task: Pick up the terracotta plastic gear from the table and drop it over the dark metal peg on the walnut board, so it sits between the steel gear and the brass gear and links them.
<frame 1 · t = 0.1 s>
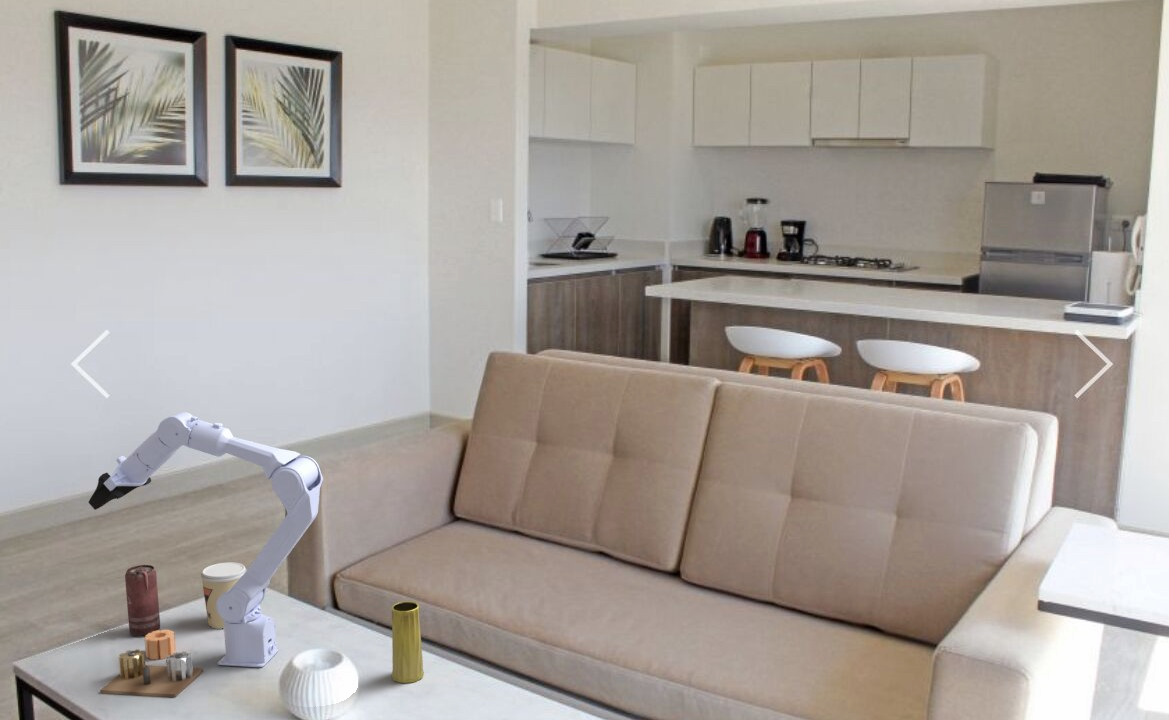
hand: (103, 500, 215), 32 cm above the table, tool tilted 50°, fingers open, 7 cm apart
can: (145, 632, 230), on the table
idler gear: (160, 653, 219), on the table
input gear: (180, 679, 208), resting on gear board
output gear: (133, 676, 209), resting on gear board
coffee cup: (227, 622, 235), on the table
gear board: (153, 681, 207), on the table
vase: (407, 677, 208), on the table
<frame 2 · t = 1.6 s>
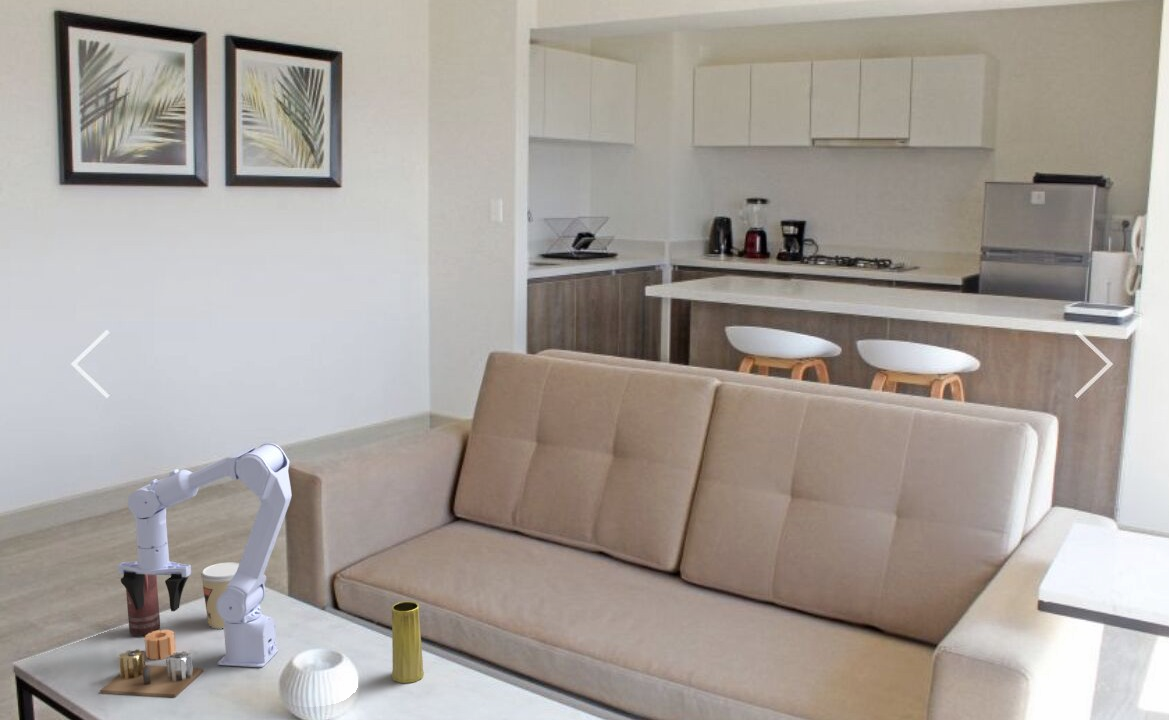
hand: (157, 608, 217), 10 cm above the table, tool pointing down, fingers open, 7 cm apart
nothing on the table moved.
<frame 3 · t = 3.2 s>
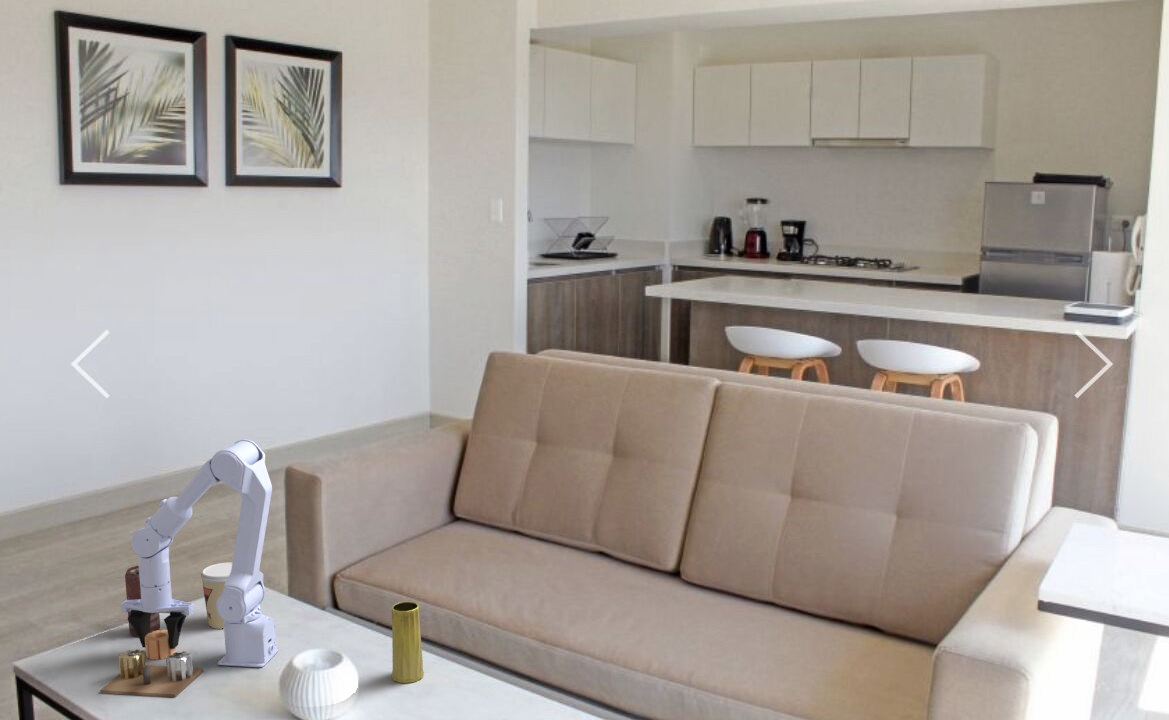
hand: (160, 646, 219), 2 cm above the table, tool pointing down, fingers closed on idler gear, 5 cm apart
idler gear: (160, 653, 219), on the table, touching gripper
everything else where it was.
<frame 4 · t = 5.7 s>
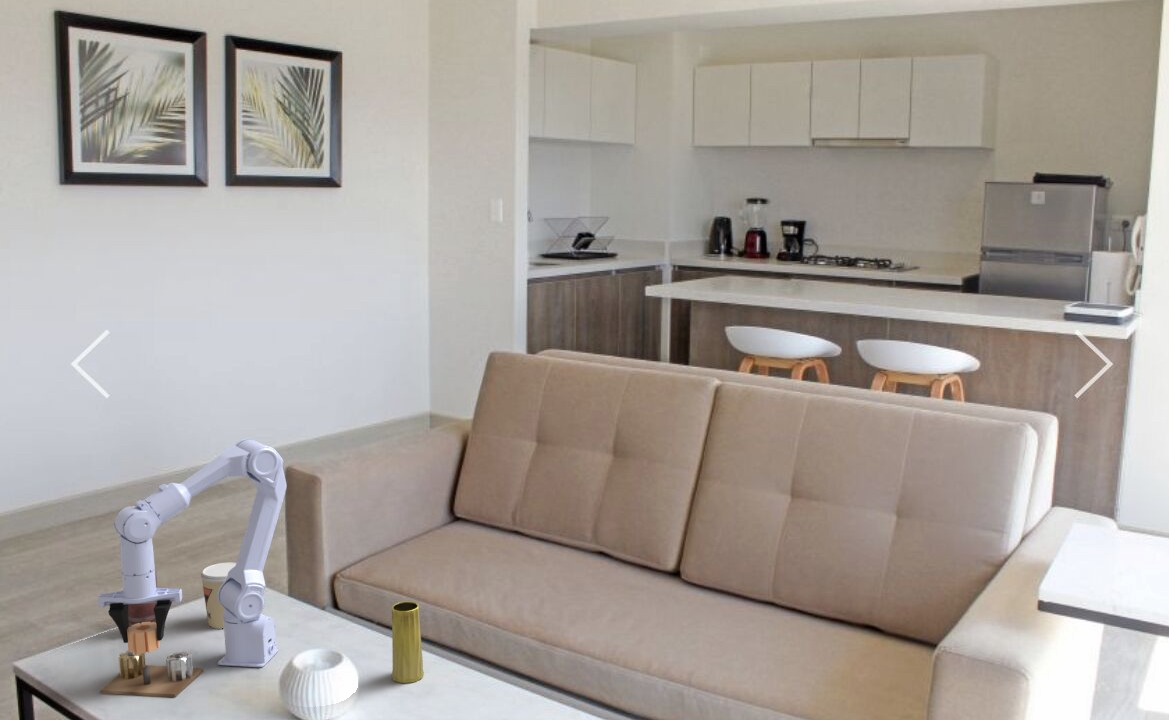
hand: (143, 639, 203), 9 cm above the table, tool pointing down, fingers closed on idler gear, 5 cm apart
idler gear: (144, 647, 204), point 8 cm above the table, touching gripper
everything else where it was.
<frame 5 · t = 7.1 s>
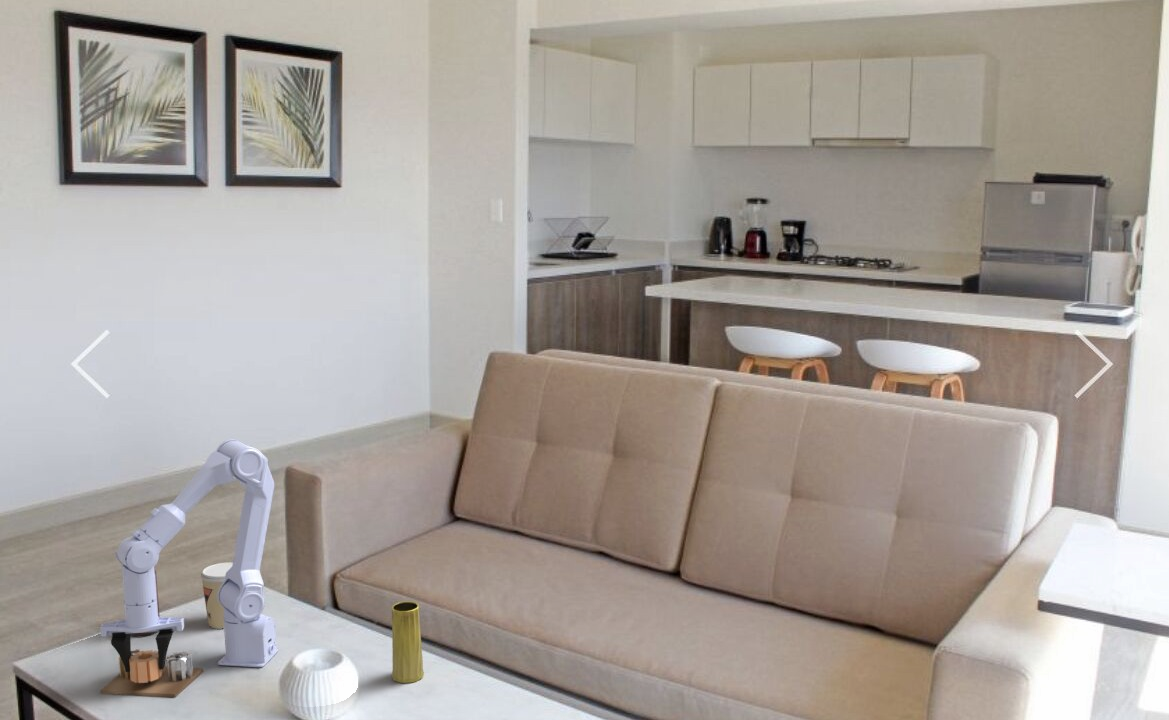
hand: (145, 668, 204), 4 cm above the table, tool pointing down, fingers closed on idler gear, 5 cm apart
idler gear: (146, 676, 204), point 2 cm above the table, touching gripper
everything else where it was.
when the fingers open (4 cm above the table, at t = 8.2 s): idler gear drops 1 cm, resting on gear board.
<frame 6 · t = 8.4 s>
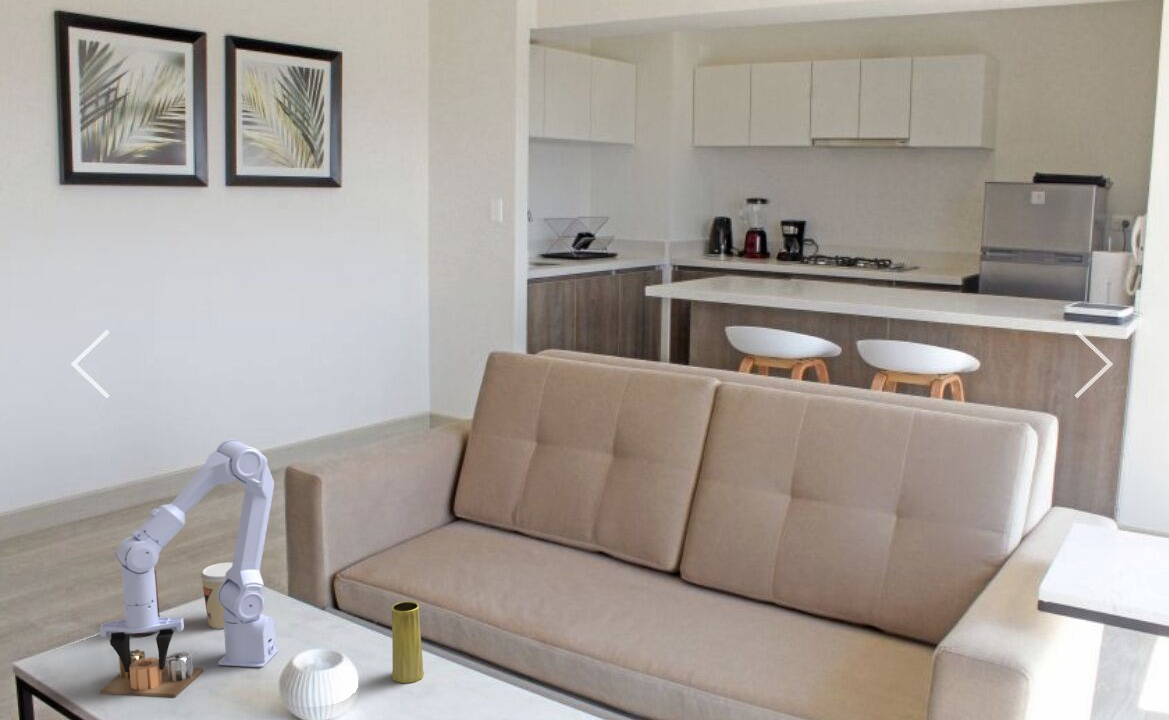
hand: (145, 668, 204), 4 cm above the table, tool pointing down, fingers open, 6 cm apart
idler gear: (146, 683, 205), point 1 cm above the table, touching gear board
everything else where it was.
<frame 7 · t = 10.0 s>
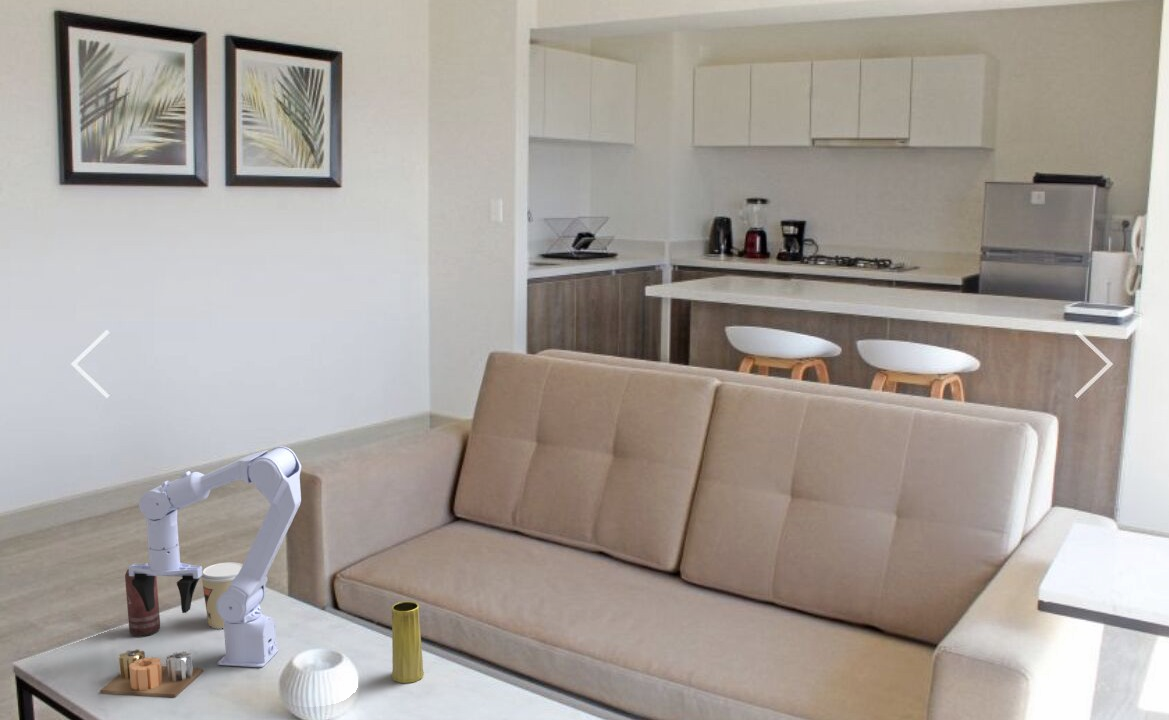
hand: (168, 610, 217), 9 cm above the table, tool pointing down, fingers open, 7 cm apart
nothing on the table moved.
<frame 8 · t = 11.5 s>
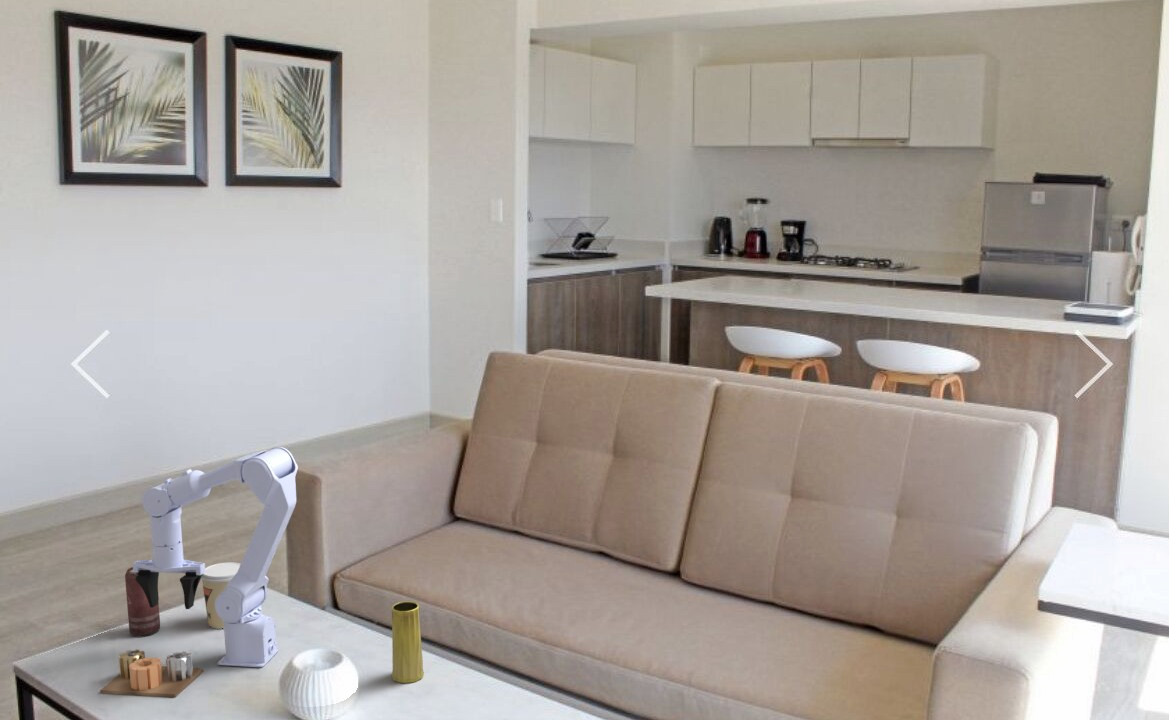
hand: (171, 606, 219), 9 cm above the table, tool pointing down, fingers open, 7 cm apart
nothing on the table moved.
at the end: idler gear 0.1 cm from the target spot on the gear board, point 0.6 cm above the gear board's base; idler gear tilted 0°; the gripper is holding nothing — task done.
